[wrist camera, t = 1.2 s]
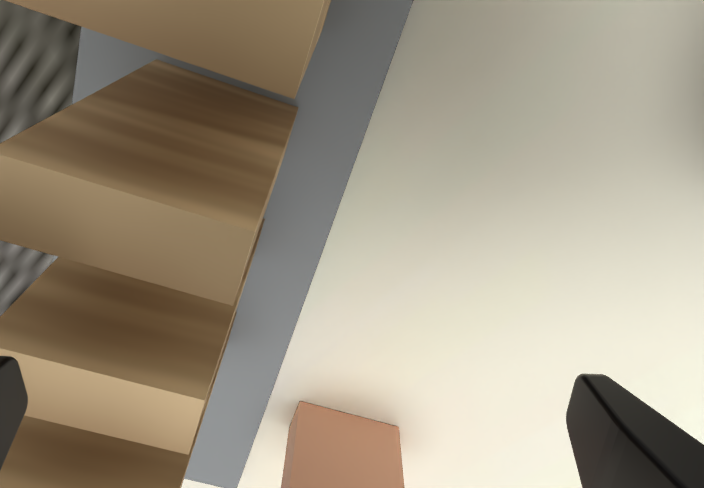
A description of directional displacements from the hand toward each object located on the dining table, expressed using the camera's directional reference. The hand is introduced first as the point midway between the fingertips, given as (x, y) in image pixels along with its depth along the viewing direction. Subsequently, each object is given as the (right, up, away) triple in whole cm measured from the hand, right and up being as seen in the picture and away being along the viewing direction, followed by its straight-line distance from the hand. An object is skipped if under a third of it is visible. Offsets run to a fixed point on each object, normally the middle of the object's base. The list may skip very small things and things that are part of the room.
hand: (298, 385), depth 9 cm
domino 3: (-5, +3, +13) cm, 14 cm away
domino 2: (-4, +7, +11) cm, 13 cm away
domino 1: (-2, +11, +9) cm, 14 cm away
